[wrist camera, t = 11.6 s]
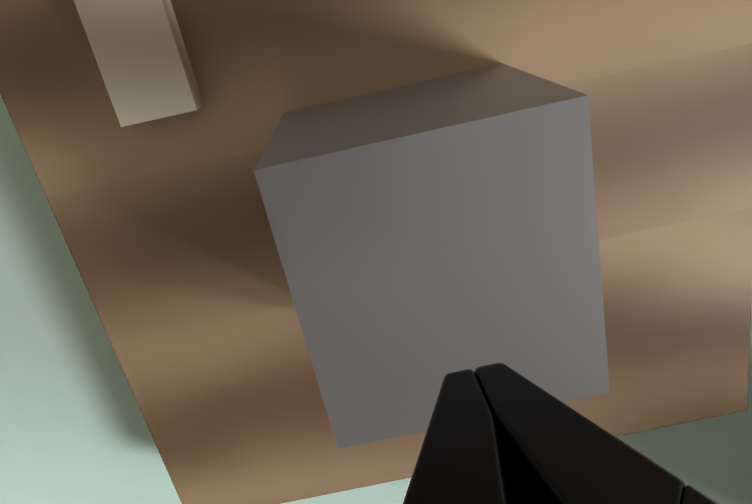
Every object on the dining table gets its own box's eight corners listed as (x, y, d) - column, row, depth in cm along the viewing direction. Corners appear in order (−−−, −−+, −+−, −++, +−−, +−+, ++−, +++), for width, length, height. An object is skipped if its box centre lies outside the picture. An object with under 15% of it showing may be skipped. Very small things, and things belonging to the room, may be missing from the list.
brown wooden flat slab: (699, 362, 24) (761, 424, 20) (207, 462, 24) (184, 539, 21) (702, -262, 16) (803, -336, 12) (-19, -93, 17) (-115, -119, 13)
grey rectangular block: (508, 245, 21) (609, 392, 13) (339, 282, 21) (337, 449, 13) (482, 56, 18) (588, 94, 10) (290, 99, 18) (253, 170, 11)
